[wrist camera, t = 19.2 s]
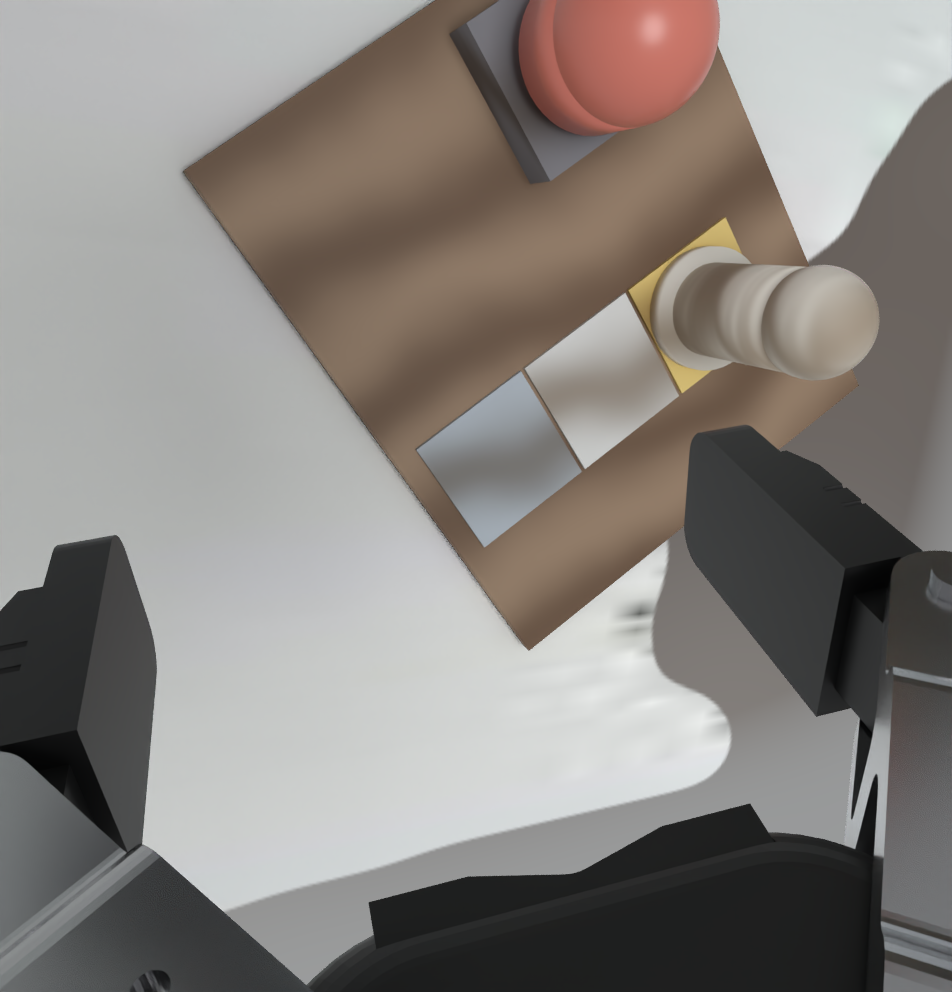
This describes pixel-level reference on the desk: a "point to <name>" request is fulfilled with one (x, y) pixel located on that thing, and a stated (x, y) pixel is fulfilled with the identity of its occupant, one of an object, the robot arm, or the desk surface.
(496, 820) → the desk surface
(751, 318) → the pawn
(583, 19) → the dome
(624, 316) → the game board
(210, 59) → the desk surface
